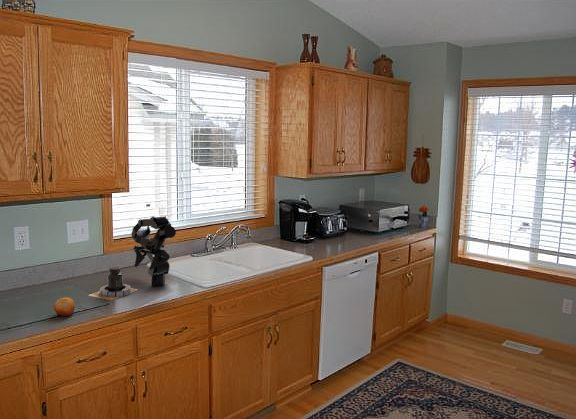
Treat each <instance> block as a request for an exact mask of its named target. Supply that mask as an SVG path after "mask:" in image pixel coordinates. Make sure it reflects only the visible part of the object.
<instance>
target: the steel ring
mask: <svg viewBox="0 0 576 419" xmlns="http://www.w3.org/2000/svg"><path fill="white" fill-rule="evenodd" d="M131 288H132V286H131V285H130V284H127V283H123V290H119V291H108V284H105V285H103V286H101V287H100V288H99V291H100V295H101V296H103V297H119V298H121V297H126V296H128V295H129V294H131V293H130V292H131Z"/></svg>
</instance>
